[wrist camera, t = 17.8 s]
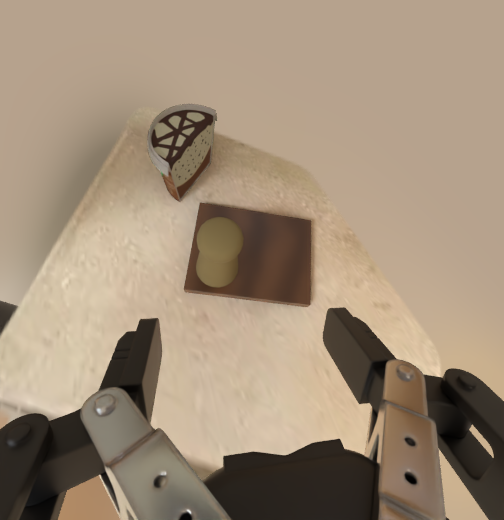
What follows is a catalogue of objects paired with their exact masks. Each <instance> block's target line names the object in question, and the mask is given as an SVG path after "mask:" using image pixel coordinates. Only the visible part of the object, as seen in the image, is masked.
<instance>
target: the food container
mask: <svg viewBox="0 0 504 520" xmlns="http://www.w3.org/2000/svg"><path fill="white" fill-rule="evenodd" d="M215 121H217V116H216V111H215V110H213V109H211V108H208V107H206V106H202V105H196V104H182V105H177V106H173V107H170V108H168V109H166V110H164V111H163V112H161V113H160V114H159V115H157V117H156V118H155V119H154V120H153V122H152V124H151V127H150V129H149V132H148V153H149V156H150V159H151V160H152V162H153V164H154V165H155V166H156V168H157V169H158V170H160V171H161V174H162V177H163V179H164V182H165V184H166V187H167V189H168V191H169V193H170V194H171V195H172V196H173V197H174V198H175V199H176V200H178V201H179V202H180V201H181V200H182V199H183V197H184V196H185V195H186V194H187V193H188V191H189V190H190V189H191V188H192V186H193V185H194V184H195V183H196V181H197V180H198V179H199V178H200V176H201V175H202V174H203V173H204V171H205V170H206V169H207V168H208V166H209V165H210V164H211V157H212V146H213V135H214V124H215Z"/></svg>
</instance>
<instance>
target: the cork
mask: <svg viewBox="0 0 504 520" xmlns="http://www.w3.org/2000/svg"><path fill="white" fill-rule="evenodd" d="M243 240H244V238H243V234H242V231H241V229H240V227H239V226H238V224H236V223H235V222H234V221H233V220H230V219H228V218H224V217H215V218H211V219H209V220H207V221H206V222H205V223H204V224H202V225H201V227H200V229H199V231H198V233H197V245H198V249H199V251H200V252H199V256H198V259H197V263H196V271H197V275H198V277H199V278H200V280H201V281H202V282H203V283H205V284H206V285H208V286H211V287H218V288H219V287H224V286H226V285H228V284H230V283H231V282H232V281H233V280H234V279H235V278H236V275H237V273H238V254H239V253H240V251H241V249H242V247H243Z"/></svg>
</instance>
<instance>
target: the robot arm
mask: <svg viewBox="0 0 504 520" xmlns="http://www.w3.org/2000/svg"><path fill="white" fill-rule="evenodd" d="M323 341H324V345H325V347H326V349H327V350H328V352H329V354H330V355H331V357H332V359H333V361H334V362H335V364H336V366H337V367H338V369H339V371H340V372H341V374H342V376H343V378H344V379H345V381H346V383H347V384H348V386H349V388H350V389H351V391H352V393H353V395H354V396H355V398H356V400H357V401H358V403H359V404H363V403H370V404H371V406H372V409H371V412H370V419H369V426H368V433H367V441H366V448H365V454H364V455H362V454H360V453H357V452H355V451H351V450H347V449H344V447H343V445H342V443H341V440H340V439H335V440H328V441H322V442H315V443H311V444H309V445H307V446H305V447H303V448H301V449H299V450H297V451H295V452H293V453H291V454H289V455H276V454H268V453H260V452H248V453H242V454H235V455H228V456H223V467H222V468H220V469H218V470H216V471H215V472H213V473H212V474H210V475H209V476H208V477H206V478H205V479H204V480H203V481H201V479H200V478H199V477H198V475H197V474H196V473H195V471H194V470H193V469H192V468H191V466H190V465H189V464H188V462H187V461H186V460H185V458H184V457H183V456H182V455H181V453H180V452H179V451H178V449H177V448H176V447H175V445H174V444H173V443H172V442H171V440H170V439H169V438H168V436H167V435H166V434H165V433H164V431H163V430H161V429H160V428H158V429H156V430H155V429H154V428H153V427H152V426H151V425H150V422H151V416H152V411H153V405H154V399H155V393H156V388H157V382H158V376H159V370H160V365H161V358H162V343H161V334H160V325H159V319H158V318H152V319H140V321H139V324H138V327H137V330H136V331H131V332H126V333H125V334H124V335H123V336H122V337H121V338H120V339H119V341H118V343H117V346H116V348H115V352H114V353H113V356H112V360H111V361H110V363H109V366H108V368H107V371H106V373H105V376H104V378H103V381H102V383H101V386H100V388H99V391H98V392H96V393H95V394H93V395H92V396H91V397H89V398H88V399H87V400H86V402H85V403H84V404H83V406H82V408H81V409H79V410H77V411H75V412H73V413H70V414H68V415H65V416H62V417H59V418H57V419H54V420H51V421H48V418H47V417H46V416H44V415H43V414H37V413H34V414H28V415H24V416H21V417H19V418H17V419H15V420H13V421H11V422H10V423H8V424H6V425H5V426H4V427H3V428H1V429H0V520H58V516H59V513H60V510H61V507H62V504H63V501H64V498H65V495H66V492H67V490H68V489H70V488H73V487H75V486H77V485H79V484H81V483H83V482H85V481H87V480H89V479H91V478H94V477H96V476H98V475H99V476H100V479H101V481H102V483H103V485H104V487H105V489H106V491H107V493H108V495H109V497H110V499H111V501H112V503H113V505H114V507H115V509H116V511H117V513H118V515H119V517H120V519H121V520H449V519H448V518H447V517H446V516H445V507H444V497H443V488H442V479H441V468H440V459H439V450H438V448H439V449H440V451H441V452H442V453H443V455H444V456H445V458H446V459H447V461H448V462H449V463H450V465H451V466H452V468H453V469H454V470H455V472H456V473H457V475H458V476H459V477H460V479H461V481H462V482H463V483H464V485H465V486H466V488H467V489H468V490H469V492H470V493H471V495H472V496H473V498H474V499H475V501H476V502H477V503H478V505H479V506H480V508H481V509H482V511H483V512H484V513H485V515H486V516H487V518H488V519H489V520H504V401H503V400H502V399H501V398H500V397H498V396H497V395H496V394H495V393H494V392H493V391H492V390H491V389H490V388H489V387H488V386H487V385H486V384H485V383H484V382H482V381H481V380H480V379H479V378H477V377H476V376H474V375H473V374H471V373H469V372H466V371H464V370H460V369H448V370H447V371H446V372H445V374H444V376H443V378H441V377H435V376H429V375H423V373H422V372H421V371H420V370H419V369H418V368H417V367H416V366H414V365H412V364H411V363H409V362H406V361H403V360H398V359H396V358H395V357H394V355H393V354H392V353H391V352H390V351H389V350H388V349H387V347H386V346H385V345H384V344H383V343H382V342H381V341H380V339H379V338H377V336H376V335H375V334H374V333H373V332H372V330H371V329H370V328H369V327H368V326H367V325H366V323H364V322H363V321H361V320H360V319H358V318H357V317H353V316H352V315H351V314H350V313H349V311H348V310H347V309H346V308H329V309H328V311H327V315H326V320H325V326H324V331H323ZM472 424H473V425H474V427H475V428H476V429H477V430H478V431H479V432H480V434H481V435H482V436H483V437H484V438H485V439H486V440H487V442H488V443H489V444H490V446H491V448H492V450H493V454H494V458H492V456H491V455H490V454H489V453H488V452H487V451H486V449H485V448H484V447H483V446H482V445H481V444H480V442H479V441H478V440H477V439H476V438H475V437H474V435H473V434H472V433H471V432H470V431H469V429H470V427H471V425H472Z"/></svg>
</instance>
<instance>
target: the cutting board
mask: <svg viewBox="0 0 504 520" xmlns="http://www.w3.org/2000/svg"><path fill="white" fill-rule="evenodd" d="M215 217H224V218H228V219H230V220H233V221H234V222H235V223H236V224H238V226H239V227H240V229H241V231H242V234H243V238H244V240H243V247H242V249H241V251H240V253H239V254H238V273H237V275H236V278H235V279H234V280H233V281H232V282H231V283H230V284H228V285H226V286H224V287H219V288H218V287H211V286H208V285H206V284H205V283H203V282H202V281H201V280H200V278H199V277H198V275H197V271H196V263H197V259H198V256H199V252H200V251H199V249H198V245H197V233H198V231H199V229H200V227H201V225H202V224H204V223H205V222H206V221H207V220H209V219H211V218H215ZM184 291H185V292H189V293H197V294H205V295H213V296H222V297H230V298H238V299H246V300H254V301H262V302H270V303H278V304H287V305H295V306H303V307H308V306H309V305H310V291H311V220H305V219H299V218H293V217H287V216H280V215H274V214H268V213H262V212H255V211H249V210H243V209H237V208H230V207H224V206H218V205H212V204H205V203H200V206H199V211H198V216H197V222H196V227H195V232H194V238H193V243H192V249H191V254H190V259H189V265H188V270H187V275H186V281H185V286H184Z"/></svg>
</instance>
